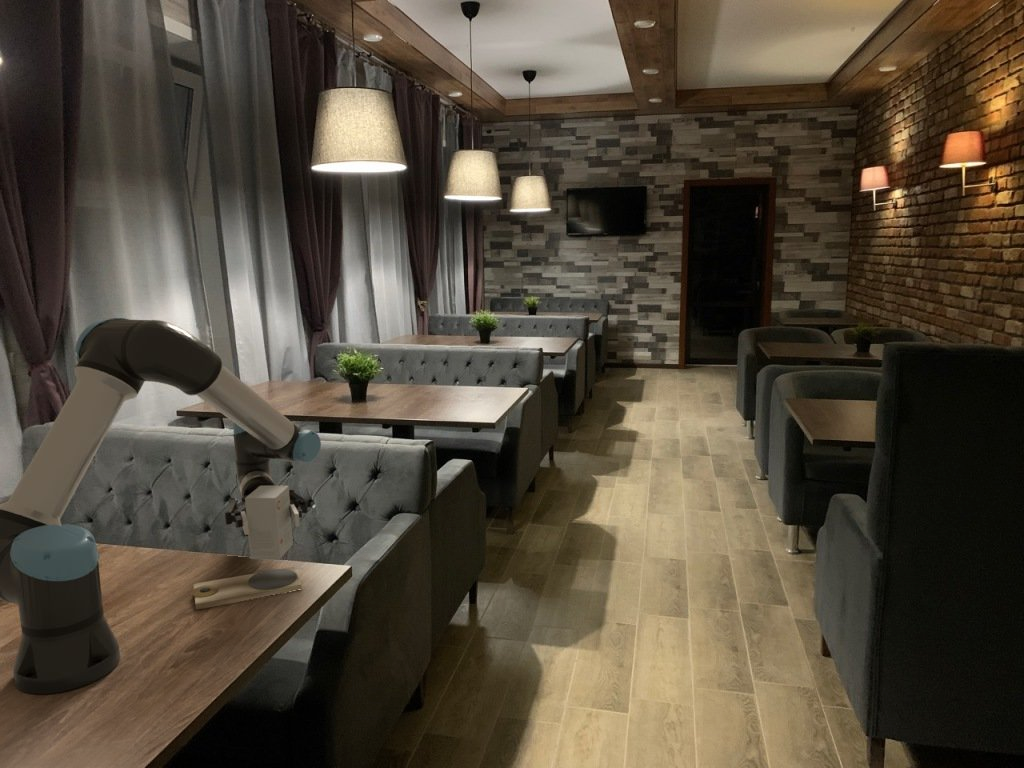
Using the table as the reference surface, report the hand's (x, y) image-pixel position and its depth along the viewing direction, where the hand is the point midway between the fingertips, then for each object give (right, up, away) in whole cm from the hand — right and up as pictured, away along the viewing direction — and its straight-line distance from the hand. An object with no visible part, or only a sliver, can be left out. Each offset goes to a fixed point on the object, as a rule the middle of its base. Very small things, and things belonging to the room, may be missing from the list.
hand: (272, 524), depth 151 cm
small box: (-2, -7, +5) cm, 9 cm away
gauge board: (-6, -14, +4) cm, 16 cm away
